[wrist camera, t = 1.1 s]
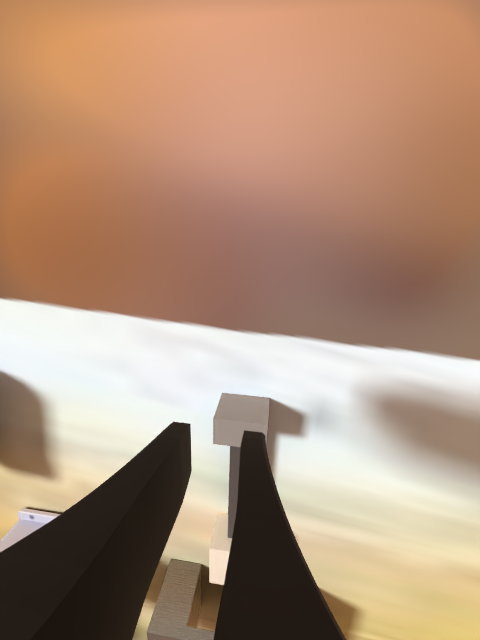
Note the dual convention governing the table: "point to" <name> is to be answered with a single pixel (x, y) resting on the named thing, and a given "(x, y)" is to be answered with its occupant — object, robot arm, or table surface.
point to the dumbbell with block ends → (232, 467)
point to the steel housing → (179, 605)
